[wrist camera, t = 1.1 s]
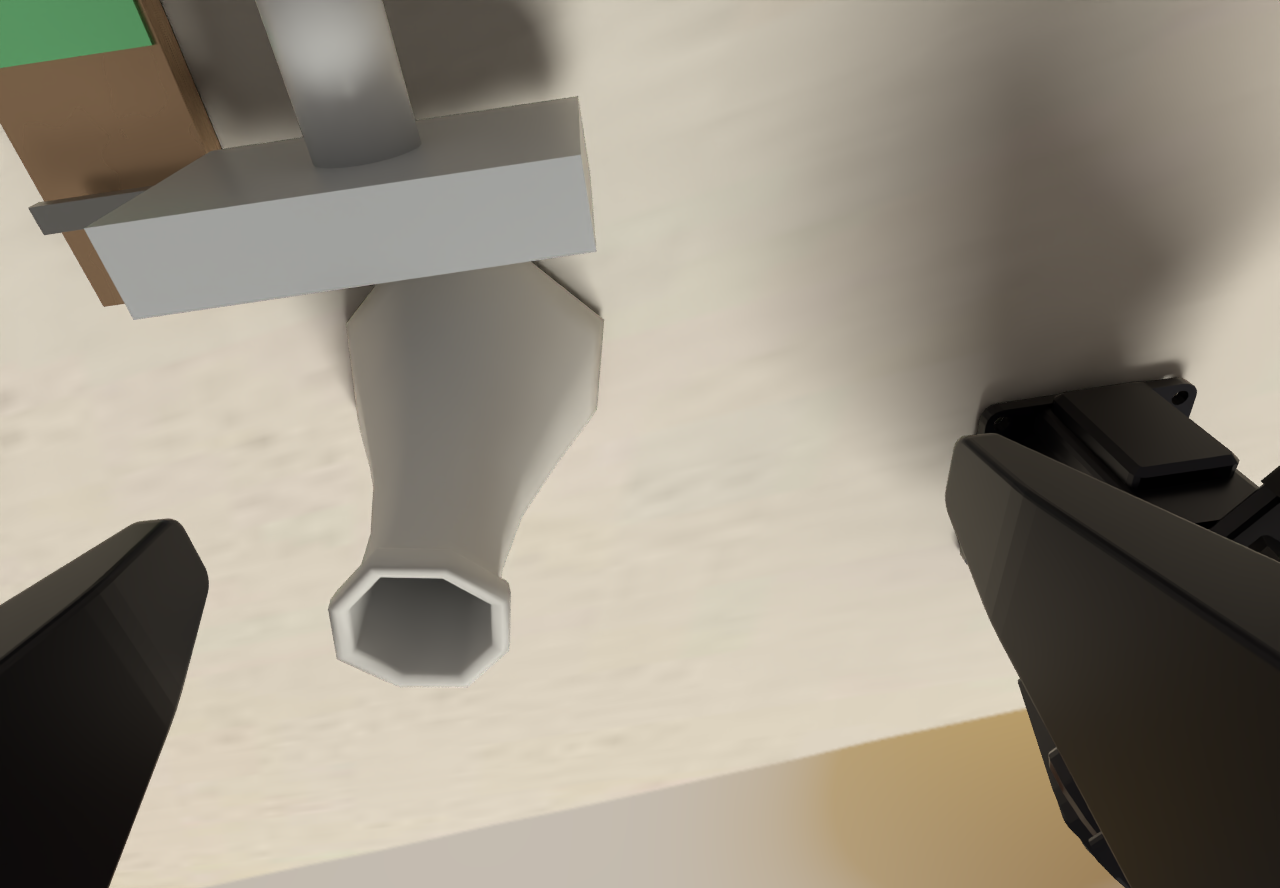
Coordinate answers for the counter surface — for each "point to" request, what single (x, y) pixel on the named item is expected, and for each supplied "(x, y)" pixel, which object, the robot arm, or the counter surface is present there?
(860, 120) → the counter surface
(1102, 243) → the counter surface
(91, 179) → the gauge housing
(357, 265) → the gauge plunger
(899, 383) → the counter surface
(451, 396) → the flask
